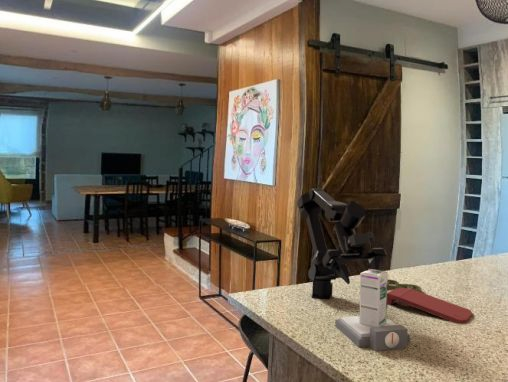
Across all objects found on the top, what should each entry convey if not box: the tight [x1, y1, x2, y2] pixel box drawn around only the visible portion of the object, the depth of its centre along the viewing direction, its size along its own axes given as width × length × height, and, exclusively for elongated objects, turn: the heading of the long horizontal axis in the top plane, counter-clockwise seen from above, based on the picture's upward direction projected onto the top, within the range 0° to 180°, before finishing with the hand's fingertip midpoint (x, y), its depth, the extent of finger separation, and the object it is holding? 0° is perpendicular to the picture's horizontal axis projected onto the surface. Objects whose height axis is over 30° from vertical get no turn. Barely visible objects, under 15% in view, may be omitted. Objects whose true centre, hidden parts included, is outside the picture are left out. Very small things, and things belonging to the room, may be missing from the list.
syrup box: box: [358, 268, 389, 327], centre depth 118 cm, size 6×6×14 cm
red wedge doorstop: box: [387, 288, 473, 324], centre depth 139 cm, size 12×5×25 cm
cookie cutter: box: [387, 279, 423, 293], centre depth 161 cm, size 18×12×2 cm, turn 56°
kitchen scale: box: [334, 315, 411, 352], centre depth 116 cm, size 18×15×5 cm
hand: (363, 282), depth 122 cm, fingers open, 9 cm apart
